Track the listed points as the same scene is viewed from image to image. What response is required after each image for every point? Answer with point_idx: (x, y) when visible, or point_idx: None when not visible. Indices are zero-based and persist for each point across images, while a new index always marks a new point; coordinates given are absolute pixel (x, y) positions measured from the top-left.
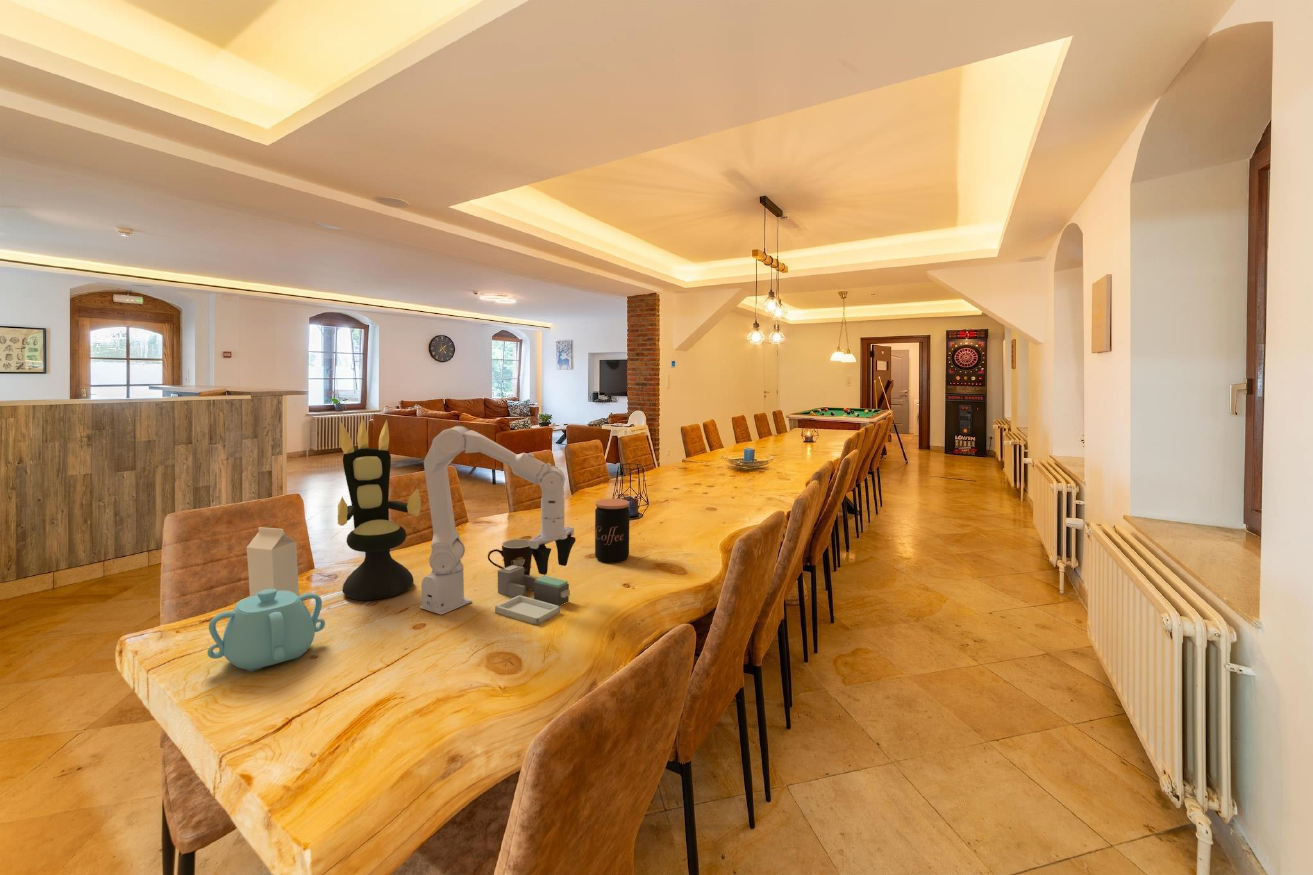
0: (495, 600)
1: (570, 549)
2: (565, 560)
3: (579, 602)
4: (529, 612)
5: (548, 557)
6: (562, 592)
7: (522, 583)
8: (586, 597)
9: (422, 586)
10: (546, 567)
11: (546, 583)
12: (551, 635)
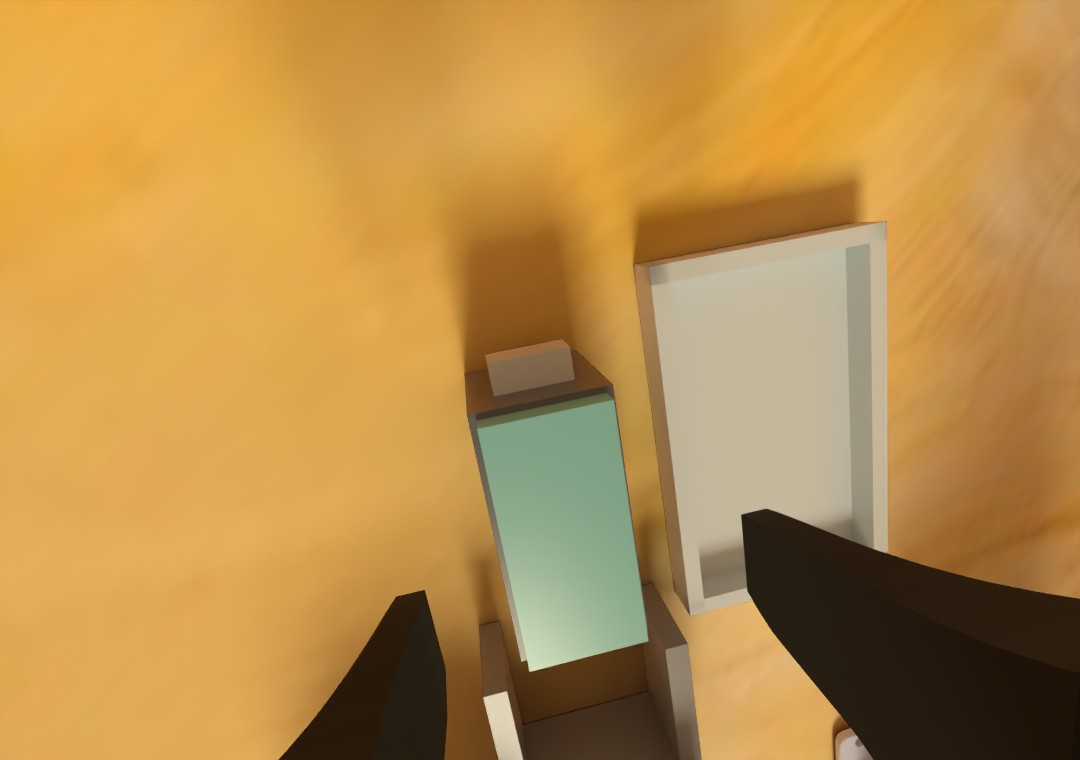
0: (747, 680)
1: (299, 754)
2: (416, 633)
3: (418, 303)
4: (772, 396)
5: (912, 605)
6: (565, 366)
7: (557, 755)
8: (314, 338)
9: None
10: (816, 537)
11: (629, 523)
12: (905, 27)
